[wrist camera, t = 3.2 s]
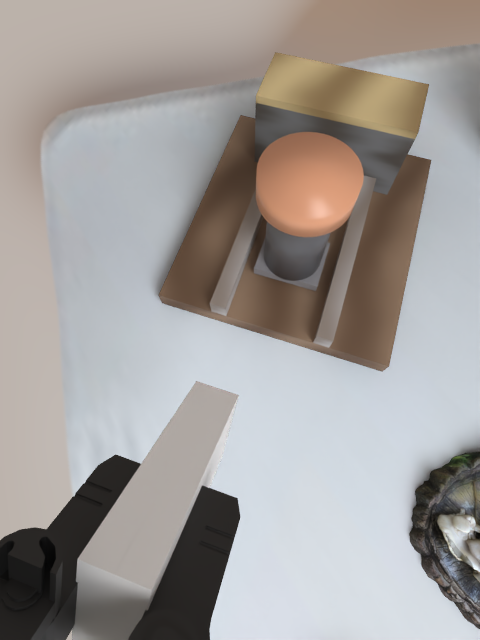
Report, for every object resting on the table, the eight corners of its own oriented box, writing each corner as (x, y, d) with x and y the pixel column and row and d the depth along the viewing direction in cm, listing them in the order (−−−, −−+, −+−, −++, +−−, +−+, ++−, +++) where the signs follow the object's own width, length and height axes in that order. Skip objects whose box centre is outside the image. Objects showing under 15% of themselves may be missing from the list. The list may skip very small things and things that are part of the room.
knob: (337, 240, 32) (373, 145, 23) (318, 304, 30) (350, 228, 21) (266, 221, 33) (274, 122, 24) (243, 282, 31) (242, 199, 22)
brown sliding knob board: (424, 172, 37) (470, 93, 29) (382, 371, 30) (428, 335, 22) (240, 128, 39) (239, 44, 31) (162, 303, 32) (136, 249, 25)
